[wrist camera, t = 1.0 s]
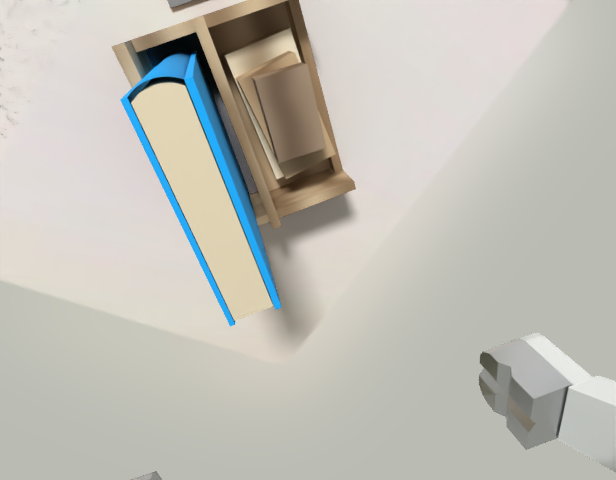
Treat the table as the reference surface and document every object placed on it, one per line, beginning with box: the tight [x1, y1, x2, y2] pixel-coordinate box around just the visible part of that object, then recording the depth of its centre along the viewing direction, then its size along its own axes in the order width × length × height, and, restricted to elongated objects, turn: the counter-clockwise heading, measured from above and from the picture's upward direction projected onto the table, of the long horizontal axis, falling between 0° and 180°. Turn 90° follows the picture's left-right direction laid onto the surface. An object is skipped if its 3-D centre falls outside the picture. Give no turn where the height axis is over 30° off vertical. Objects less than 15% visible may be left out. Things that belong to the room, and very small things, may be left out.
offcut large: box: [223, 28, 301, 179], centre depth 45 cm, size 7×14×3 cm, turn 20°
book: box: [121, 50, 281, 326], centre depth 36 cm, size 17×4×25 cm, turn 15°
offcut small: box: [252, 62, 326, 163], centre depth 40 cm, size 5×8×2 cm, turn 14°
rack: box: [112, 0, 356, 229], centre depth 42 cm, size 17×21×11 cm
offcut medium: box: [236, 51, 336, 179], centre depth 43 cm, size 6×11×3 cm, turn 24°
